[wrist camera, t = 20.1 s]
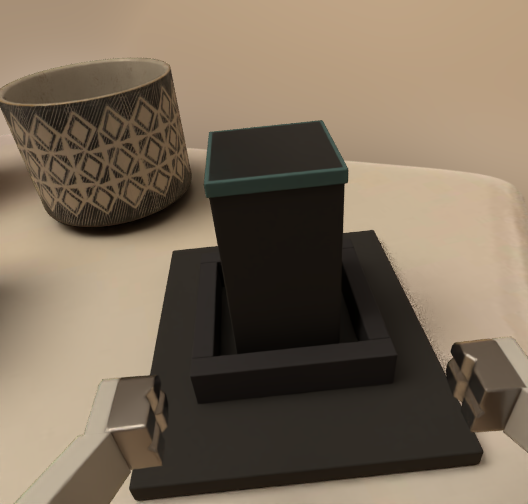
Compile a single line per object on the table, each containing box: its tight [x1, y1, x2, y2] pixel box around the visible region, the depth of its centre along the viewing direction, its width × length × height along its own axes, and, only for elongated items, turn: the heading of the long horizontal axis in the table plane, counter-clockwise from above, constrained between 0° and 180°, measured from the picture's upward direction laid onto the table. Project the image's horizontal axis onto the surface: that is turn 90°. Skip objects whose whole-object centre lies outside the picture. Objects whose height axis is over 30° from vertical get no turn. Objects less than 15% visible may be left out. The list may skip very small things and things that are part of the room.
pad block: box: [204, 120, 348, 354], centre depth 20 cm, size 5×5×10 cm
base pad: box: [129, 230, 483, 500], centre depth 23 cm, size 16×14×3 cm
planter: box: [0, 58, 191, 227], centre depth 35 cm, size 13×13×10 cm
